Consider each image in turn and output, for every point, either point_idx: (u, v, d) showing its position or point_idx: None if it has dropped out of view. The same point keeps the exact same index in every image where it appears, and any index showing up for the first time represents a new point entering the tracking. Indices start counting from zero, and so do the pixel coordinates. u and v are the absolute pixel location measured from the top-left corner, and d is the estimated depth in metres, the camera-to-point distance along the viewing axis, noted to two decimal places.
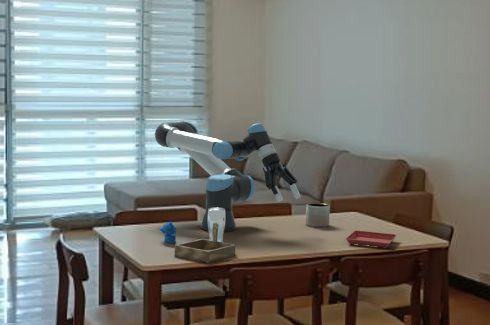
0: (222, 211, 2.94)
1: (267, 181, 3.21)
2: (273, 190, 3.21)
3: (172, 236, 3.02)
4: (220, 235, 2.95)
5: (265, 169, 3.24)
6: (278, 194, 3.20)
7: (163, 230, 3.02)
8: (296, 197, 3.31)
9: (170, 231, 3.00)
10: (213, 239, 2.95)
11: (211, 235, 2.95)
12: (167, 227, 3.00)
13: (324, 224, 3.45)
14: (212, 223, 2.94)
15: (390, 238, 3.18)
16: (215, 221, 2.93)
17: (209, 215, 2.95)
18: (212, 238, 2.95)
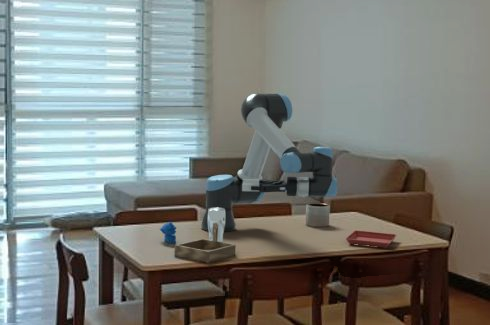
0: (222, 211, 2.94)
1: (267, 188, 2.86)
2: (255, 187, 2.87)
3: (172, 236, 3.02)
4: (220, 235, 2.95)
5: (282, 188, 2.88)
6: (249, 189, 2.88)
7: (163, 230, 3.02)
8: (244, 181, 3.02)
9: (170, 231, 3.00)
10: (213, 239, 2.95)
11: (211, 235, 2.95)
12: (167, 227, 3.00)
13: (324, 224, 3.45)
14: (212, 223, 2.94)
15: (390, 238, 3.18)
16: (215, 221, 2.93)
17: (209, 215, 2.95)
18: (212, 238, 2.95)
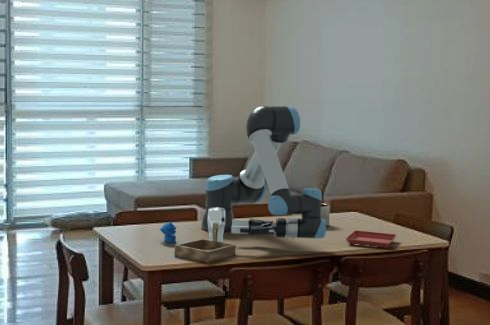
0: (222, 211, 2.94)
1: (256, 231, 2.87)
2: (244, 230, 2.88)
3: (172, 236, 3.02)
4: (220, 235, 2.95)
5: (271, 230, 2.90)
6: (238, 231, 2.89)
7: (163, 230, 3.02)
8: (233, 221, 3.03)
9: (170, 231, 3.00)
10: (213, 239, 2.95)
11: (211, 235, 2.95)
12: (167, 227, 3.00)
13: None
14: (212, 223, 2.94)
15: (390, 238, 3.18)
16: (215, 221, 2.93)
17: (209, 215, 2.95)
18: (212, 238, 2.95)
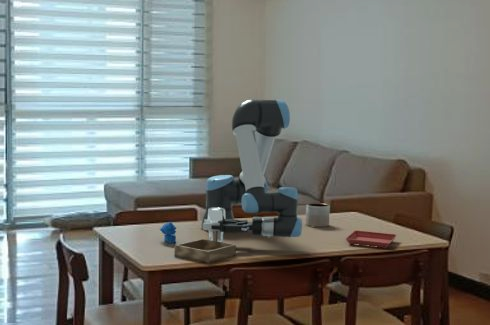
0: (222, 211, 2.94)
1: (227, 228, 2.90)
2: (216, 227, 2.92)
3: (172, 236, 3.02)
4: (220, 235, 2.95)
5: (243, 229, 2.90)
6: (209, 228, 2.93)
7: (163, 230, 3.02)
8: (205, 221, 3.00)
9: (170, 231, 3.00)
10: (213, 239, 2.95)
11: (211, 235, 2.95)
12: (167, 227, 3.00)
13: (324, 224, 3.45)
14: None
15: (390, 238, 3.18)
16: (215, 221, 2.93)
17: (209, 215, 2.95)
18: (212, 237, 2.95)
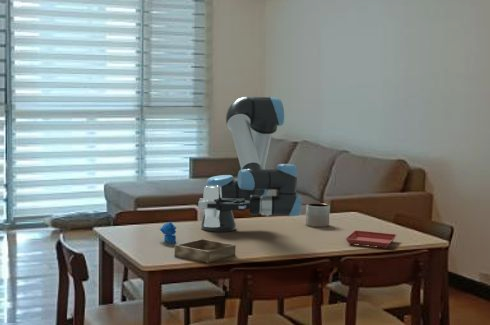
0: (218, 189, 2.82)
1: (223, 206, 2.78)
2: (212, 205, 2.80)
3: (172, 236, 3.02)
4: (216, 214, 2.83)
5: (240, 207, 2.78)
6: (205, 207, 2.81)
7: (163, 230, 3.02)
8: (201, 200, 2.88)
9: (170, 231, 3.00)
10: (208, 218, 2.83)
11: (207, 214, 2.83)
12: (167, 227, 3.00)
13: (324, 224, 3.45)
14: (208, 201, 2.82)
15: (390, 238, 3.18)
16: (211, 199, 2.81)
17: (205, 193, 2.83)
18: (208, 217, 2.83)
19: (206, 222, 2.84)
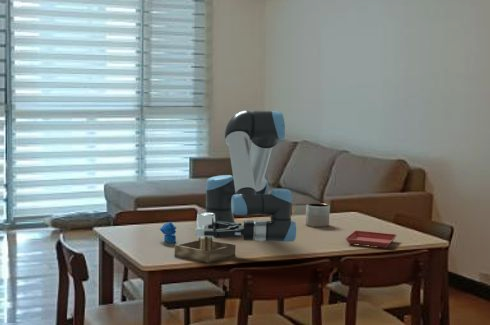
0: (212, 216, 2.78)
1: (221, 234, 2.72)
2: (209, 233, 2.73)
3: (172, 236, 3.02)
4: (210, 241, 2.79)
5: (237, 233, 2.74)
6: (202, 234, 2.74)
7: (163, 230, 3.02)
8: None
9: (170, 231, 3.00)
10: (202, 245, 2.79)
11: (200, 241, 2.79)
12: (167, 227, 3.00)
13: (324, 224, 3.45)
14: None
15: (390, 238, 3.18)
16: (204, 227, 2.77)
17: (198, 220, 2.79)
18: (201, 244, 2.79)
19: None
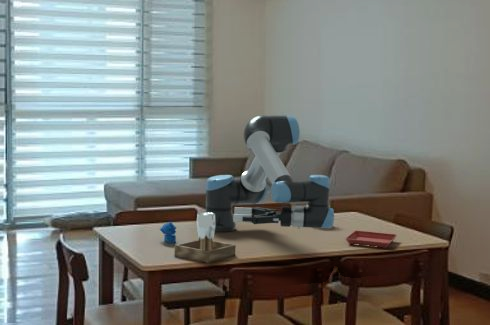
0: (212, 216, 2.78)
1: (259, 220, 2.70)
2: (247, 218, 2.72)
3: (172, 236, 3.02)
4: (210, 241, 2.79)
5: (275, 219, 2.73)
6: (240, 220, 2.73)
7: (163, 230, 3.02)
8: (236, 209, 2.86)
9: (170, 231, 3.00)
10: (202, 245, 2.79)
11: (200, 241, 2.79)
12: (167, 227, 3.00)
13: None
14: (201, 229, 2.78)
15: (390, 238, 3.18)
16: (204, 227, 2.77)
17: (198, 220, 2.79)
18: (201, 244, 2.79)
19: None
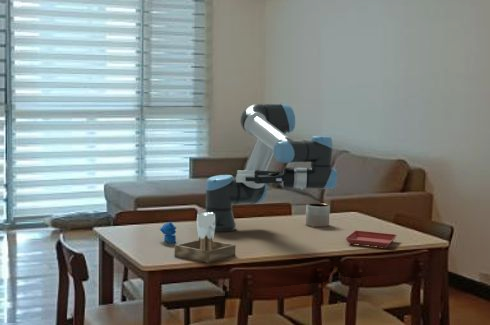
0: (212, 216, 2.78)
1: (262, 179, 2.70)
2: (250, 178, 2.71)
3: (172, 236, 3.02)
4: (210, 241, 2.79)
5: (278, 179, 2.72)
6: (243, 180, 2.72)
7: (163, 230, 3.02)
8: (238, 172, 2.86)
9: (170, 231, 3.00)
10: (202, 245, 2.79)
11: (200, 241, 2.79)
12: (167, 227, 3.00)
13: (324, 224, 3.45)
14: (201, 229, 2.78)
15: (390, 238, 3.18)
16: (204, 227, 2.77)
17: (198, 220, 2.79)
18: (201, 244, 2.79)
19: None
